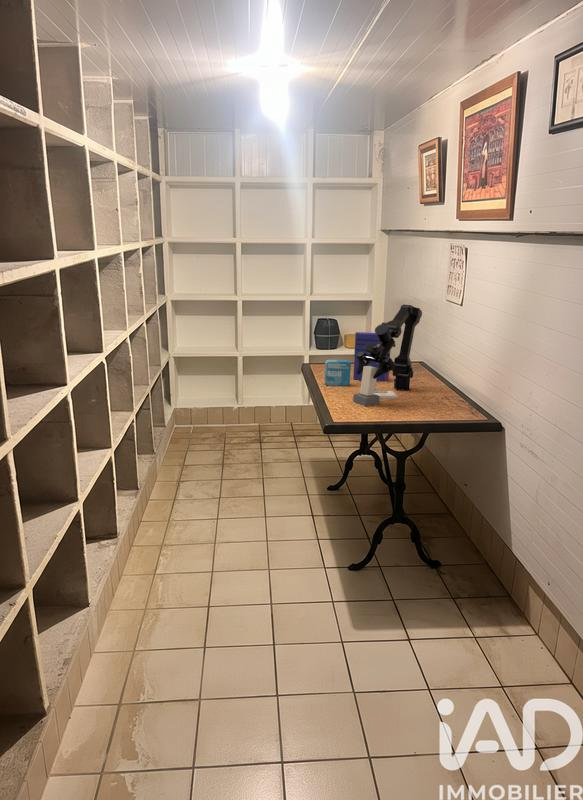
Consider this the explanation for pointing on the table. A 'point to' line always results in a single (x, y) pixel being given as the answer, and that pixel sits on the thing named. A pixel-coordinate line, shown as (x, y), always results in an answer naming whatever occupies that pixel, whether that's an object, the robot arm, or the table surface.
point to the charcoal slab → (366, 399)
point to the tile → (386, 394)
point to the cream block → (368, 381)
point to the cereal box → (360, 345)
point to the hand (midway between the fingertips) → (365, 376)
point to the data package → (337, 372)
